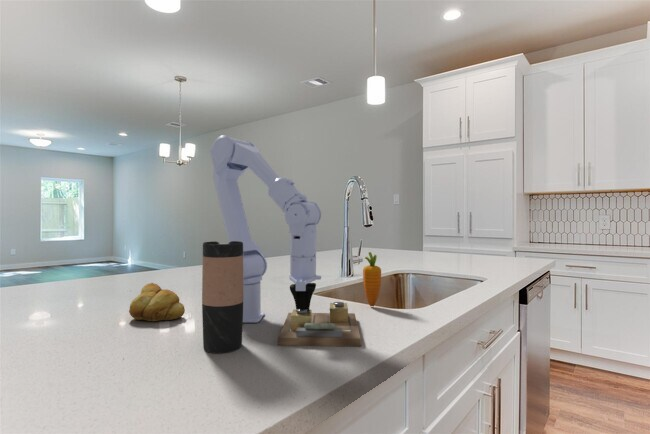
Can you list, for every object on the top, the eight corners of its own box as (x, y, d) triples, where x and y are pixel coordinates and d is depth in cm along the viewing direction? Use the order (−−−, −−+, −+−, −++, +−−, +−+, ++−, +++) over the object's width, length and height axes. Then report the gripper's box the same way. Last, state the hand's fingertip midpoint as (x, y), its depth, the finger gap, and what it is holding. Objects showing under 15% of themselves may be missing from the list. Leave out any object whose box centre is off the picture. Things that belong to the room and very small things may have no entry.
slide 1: (290, 330, 77) (290, 312, 76) (293, 323, 82) (293, 306, 81) (310, 330, 76) (310, 312, 76) (311, 323, 81) (311, 306, 81)
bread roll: (192, 316, 93) (193, 283, 93) (165, 327, 84) (165, 291, 83) (150, 311, 97) (151, 280, 97) (120, 321, 87) (120, 287, 87)
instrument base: (278, 345, 72) (278, 325, 72) (288, 318, 90) (288, 302, 90) (360, 346, 72) (360, 326, 72) (354, 319, 90) (354, 303, 90)
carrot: (380, 310, 99) (380, 253, 99) (361, 309, 100) (362, 253, 100) (381, 305, 104) (381, 251, 104) (363, 304, 105) (364, 251, 105)
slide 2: (329, 321, 83) (329, 305, 83) (329, 315, 88) (329, 300, 88) (347, 321, 83) (347, 305, 83) (346, 315, 88) (346, 300, 88)
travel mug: (221, 357, 66) (221, 244, 66) (193, 348, 70) (193, 242, 70) (251, 344, 73) (251, 242, 72) (224, 337, 77) (224, 240, 76)
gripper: (320, 260, 75) (320, 327, 75) (322, 252, 90) (321, 308, 90) (285, 259, 75) (285, 326, 75) (292, 252, 90) (292, 308, 90)
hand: (302, 316), depth 83 cm, fingers closed
